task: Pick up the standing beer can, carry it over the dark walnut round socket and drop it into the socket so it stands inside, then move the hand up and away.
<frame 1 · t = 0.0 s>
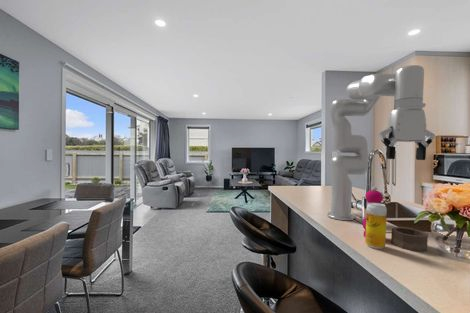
hand: (405, 159, 78), 31 cm above the countertop, tool pointing down, fingers open, 9 cm apart
pepper mill: (372, 237, 95), on the countertop
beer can: (374, 246, 85), on the countertop
socket: (408, 245, 87), on the countertop
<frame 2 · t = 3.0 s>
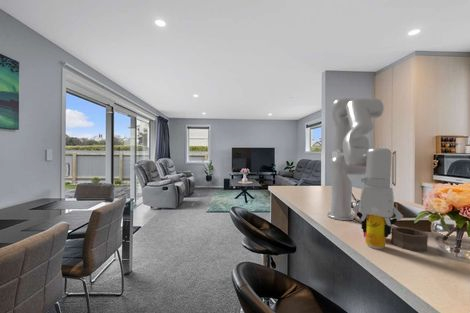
hand: (375, 233, 85), 5 cm above the countertop, tool pointing down, fingers closed on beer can, 6 cm apart
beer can: (375, 246, 85), on the countertop, touching gripper
everything else where it was.
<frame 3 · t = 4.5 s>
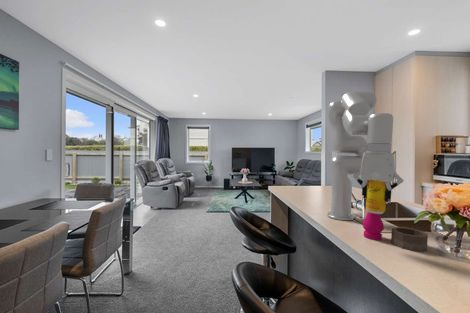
hand: (375, 199, 86), 17 cm above the countertop, tool pointing down, fingers closed on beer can, 6 cm apart
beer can: (375, 212, 86), point 12 cm above the countertop, touching gripper
everything else where it was.
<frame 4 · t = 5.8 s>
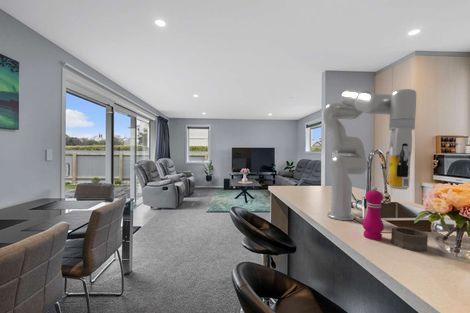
hand: (399, 175, 86), 25 cm above the countertop, tool pointing down, fingers closed on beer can, 6 cm apart
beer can: (398, 188, 86), point 20 cm above the countertop, touching gripper
everything else where it was.
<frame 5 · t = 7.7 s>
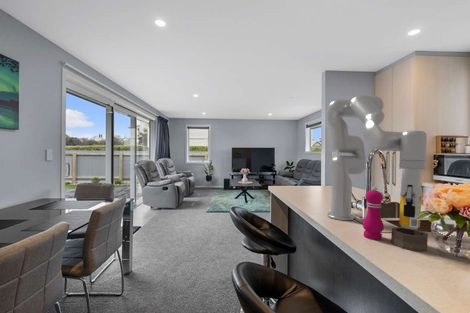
hand: (409, 214, 87), 11 cm above the countertop, tool pointing down, fingers closed on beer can, 6 cm apart
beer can: (409, 227, 87), point 6 cm above the countertop, touching gripper
everything else where it was.
when the fingers open (7 cm above the countertop, at t = 8.9 s): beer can drops 2 cm, resting on socket.
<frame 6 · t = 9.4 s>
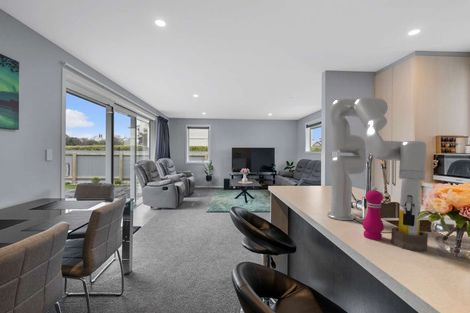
hand: (409, 222, 87), 8 cm above the countertop, tool pointing down, fingers open, 9 cm apart
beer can: (407, 242, 87), point 1 cm above the countertop, touching socket
everything else where it was.
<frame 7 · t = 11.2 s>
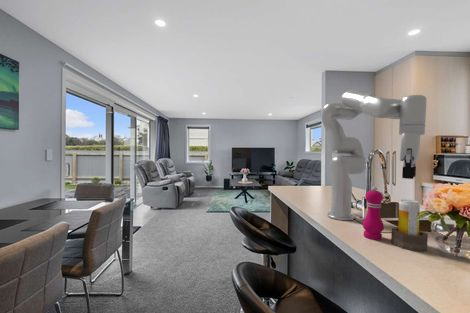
hand: (408, 177, 87), 25 cm above the countertop, tool pointing down, fingers open, 9 cm apart
nothing on the countertop moved.
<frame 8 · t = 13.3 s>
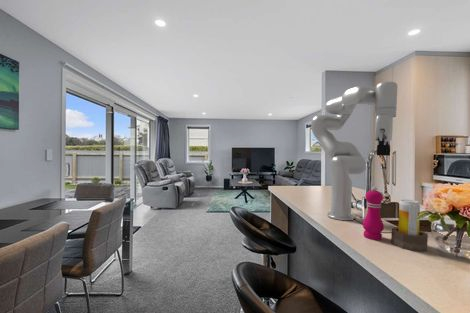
hand: (383, 155, 98), 32 cm above the countertop, tool pointing down, fingers open, 9 cm apart
nothing on the countertop moved.
at the end: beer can 0.4 cm off-centre on the socket, point 0.9 cm above the socket's base; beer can tilted 1°; the gripper is holding nothing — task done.
